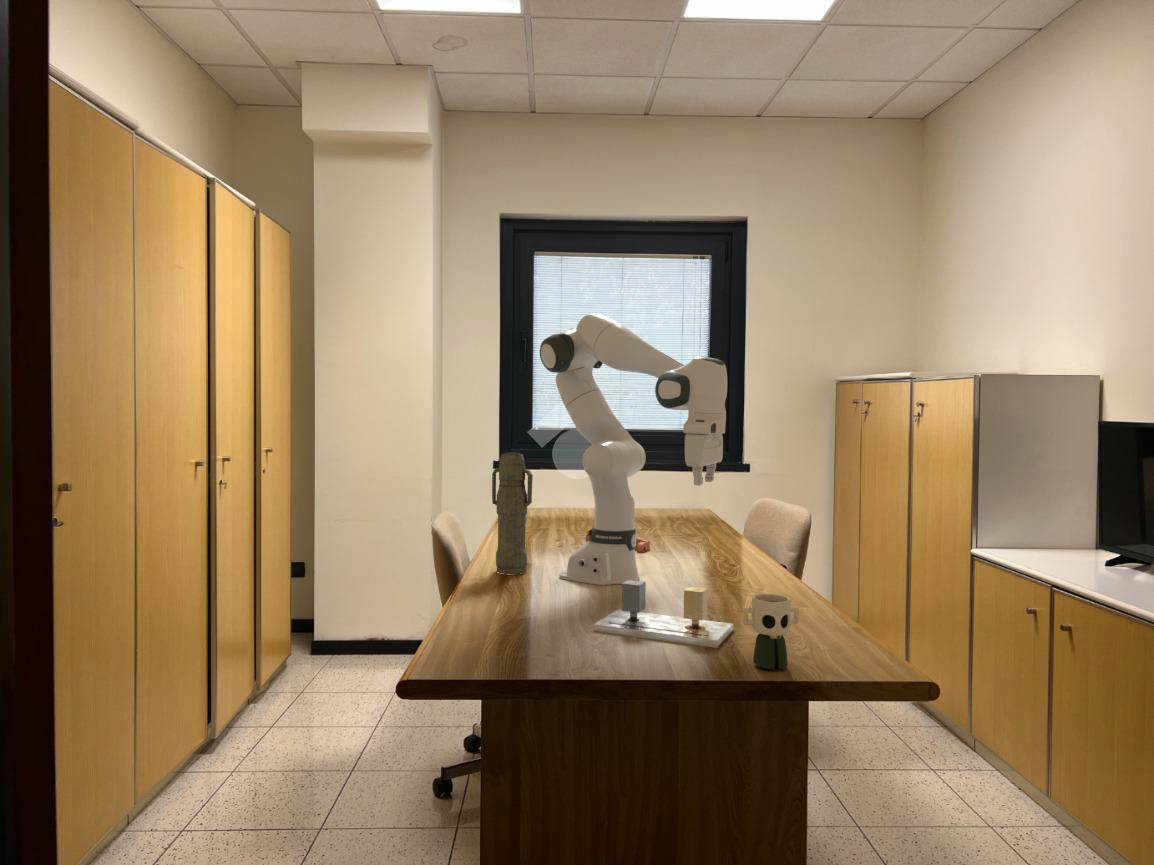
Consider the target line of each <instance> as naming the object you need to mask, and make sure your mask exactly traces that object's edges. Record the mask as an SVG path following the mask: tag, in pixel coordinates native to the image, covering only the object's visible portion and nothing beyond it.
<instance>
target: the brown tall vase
mask: <svg viewBox="0 0 1154 865" xmlns="http://www.w3.org/2000/svg"><path fill="white" fill-rule="evenodd" d="M497 473H498V480H499V484H498V491H497ZM526 475H527V489H526V484H525V480H526ZM491 476H492V477H491V498H492V505H495V507H496V514H497V549H496V552H495V565H496V573H497V572H499V573H504V574H520V573H524V572H526V573H527V565H528V552H527V551H528V550H527V547H526V515H527V514H528V507H529V506H530V505H532V502H533V476H534V475H533V473H532V471H531V470H530V469H526V460H525V458H524V454H522V453H521V452H515V451H514V452H512V451H511V452H504V453H501V455H500V459H499V462H498V468H495V469H494V470H493V471H492V473H491ZM524 574H525V573H524ZM520 575H521V574H520Z"/></svg>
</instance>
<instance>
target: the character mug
mask: <svg viewBox="0 0 1154 865" xmlns="http://www.w3.org/2000/svg"><path fill="white" fill-rule="evenodd" d="M749 613H750V614H751V619H749ZM792 613H793V618H792V615H791V614H792ZM799 621H800V608H799V606H797V605H796V606H792V600H791V598H790V597H788V596H786V595H782V594H776V593H775V594H774V593H757V594H754V595H752V597H751V607H744V608H743V610H742V624H743V625H744V626H751V629H752V630H753V631H754V632H755V633H757V636H756V638H755V645H754V651H753V659H752V660H753V664H755V665H756V666H758V667H760V668H763V669H769V670H775V667H778V669H780V670H781V669H785V668H787V667H788V666H789V664H788V652H787V645H786V639H785V637H784V636H785V635H788V633H789V632H790V630H791V628H792V627H791V626H792V625H797V624H798V623H799Z"/></svg>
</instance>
